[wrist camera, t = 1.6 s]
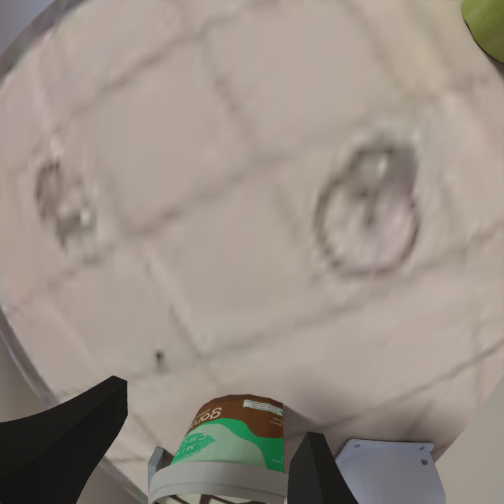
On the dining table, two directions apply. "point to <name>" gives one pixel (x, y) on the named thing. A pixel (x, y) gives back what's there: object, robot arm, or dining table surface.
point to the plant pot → (486, 25)
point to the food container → (227, 456)
